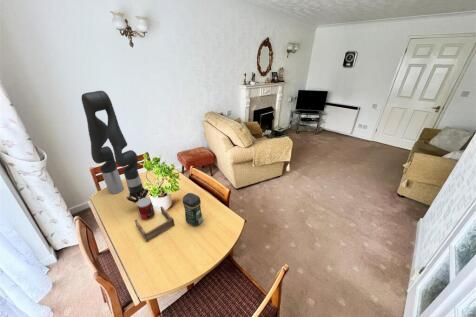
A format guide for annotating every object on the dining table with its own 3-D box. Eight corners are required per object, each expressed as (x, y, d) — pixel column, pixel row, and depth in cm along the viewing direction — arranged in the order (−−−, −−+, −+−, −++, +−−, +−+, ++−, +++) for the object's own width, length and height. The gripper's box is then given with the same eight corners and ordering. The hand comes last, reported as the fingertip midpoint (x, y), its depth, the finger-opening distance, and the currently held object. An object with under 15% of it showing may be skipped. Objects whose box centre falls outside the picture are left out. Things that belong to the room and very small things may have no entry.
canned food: (150, 221, 115) (146, 207, 109) (138, 219, 116) (133, 205, 111) (157, 212, 121) (153, 198, 116) (145, 210, 123) (141, 196, 117)
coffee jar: (183, 221, 115) (179, 197, 106) (192, 213, 121) (189, 189, 112) (195, 229, 110) (192, 203, 101) (205, 220, 116) (202, 195, 107)
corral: (136, 226, 111) (134, 220, 109) (163, 212, 121) (162, 206, 119) (146, 241, 103) (144, 235, 100) (174, 225, 112) (173, 219, 110)
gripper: (143, 175, 122) (149, 197, 130) (120, 184, 114) (128, 207, 122) (148, 180, 117) (153, 203, 126) (124, 190, 109) (132, 213, 117)
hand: (141, 205), depth 124 cm, fingers closed
